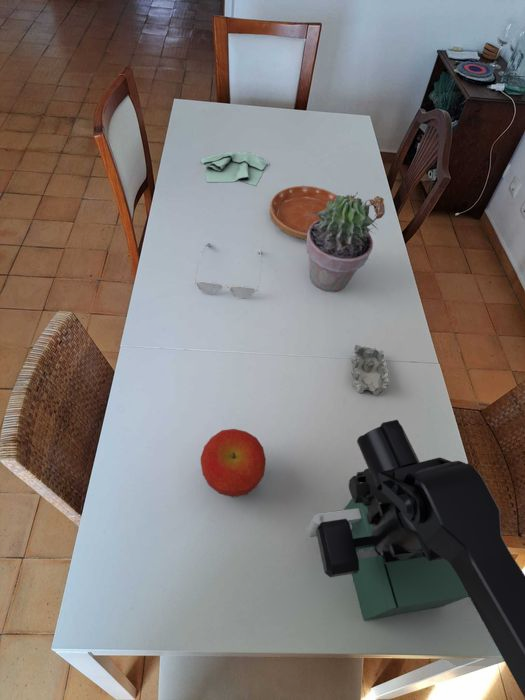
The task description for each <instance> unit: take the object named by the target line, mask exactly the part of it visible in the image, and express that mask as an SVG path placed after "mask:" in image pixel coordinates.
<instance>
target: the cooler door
mask: <svg viewBox="0 0 525 700" xmlns="http://www.w3.org/2000/svg"><path fill="white" fill-rule="evenodd" d="M367 512H368V508H367V506H364V505H363V504H362V503H354V501H353V498H352V497H351V498H350V500H349V501H348V503H347V504H346V506H345V507H344V508H343V509H342V510H336V511H334V510H333V511H328V512H320V513H316V514H314V515H313V518H312V519H311V521H310V522H309V524H308V525H307V527H306V529H305V534H306V536H308V537H309V538H315V537H317V533H316V530H317V528H318V527H319V525H320V523H321V522H327V521H333V520H340V519H347V521H348V522H349V524H350V528H351V532H352V536H353V539H355V538H361V537H368V536H372V528H373V525H372V524H368V520H367V517H366V514H367ZM369 548H370V550H371V548H373V550H374V548H375V546H374V547H367V548H361V549H356V550H357V551H358V552H359V550H361V552H362V549H364V551H365V549H367V551H368V549H369ZM358 560H359V571H358V573H354V574H351V575H352V579H353V583H354V587H355V591H356V596H357V599H358V603H359V607H360V611H361V614H362V620H363V621H364V622H365V621H366V622H367V621H370V620H373V619H372V618H375V617H377V616H379V615H381V614H384V613H386V612H388V611H390V610H393V609H395V608H396V604H395V601H394V597H393V594H392V590H391V587H390V583H389V580H388V577H387V573H386V570H385V566H384V564H383V561H382V557H381V556H376V557H370V558H364V559H358Z"/></svg>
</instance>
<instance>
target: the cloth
mask: <svg viewBox="0 0 525 700" xmlns="http://www.w3.org/2000/svg"><path fill="white" fill-rule="evenodd" d="M199 161H200V162H201V164H202V165H206V166H207V167H206V168H205V177H206V183H235V182H236V181H238V182H241V183H245V184H247V185H250V186H255V187H256V186H257V185H258V183H259V182H260V179H261V178H262V175H263V173H264V171H265V167H266V166H267V165H268V164H269V161H267V160H266V159H265V158H264V157H263V158H262V157H261V156H259V155H257V154H256V153H252V152H247V151H240V152H239V151H238V152H237V151H236V152H234V151H229V152H223V153H217V154H214V155H209V156H206V157H205V158H202V159H200V160H199Z"/></svg>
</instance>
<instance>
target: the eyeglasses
mask: <svg viewBox="0 0 525 700" xmlns="http://www.w3.org/2000/svg"><path fill="white" fill-rule="evenodd" d="M211 245H212V243H210V242H207V243H206V244H205V245H204V247H203V248H202V250H201V251H200V255H199V260H198V262H197V265H196V270H195V271H196V272H195V275H197V273H198V268H199V264H200V260H201V257H202V254H203V252H204V250H205V248H206V247H207V248H210V247H211ZM257 254H259V255H260V264H262V262H263V258H262V251H261V249H258V250H257ZM259 271H260V272H259V275H261V272H262V269H260V270H259ZM260 279H261V277H259V279H258V281H260ZM193 284H195V285H196V286H197V288H198V289H199V290H200V292H202V293H203V294H206V295H217V294H219V293H220V292H221V291H222V289H223V288H229V289H230V292H231V295H233V296H234V297H235V298H238V299H250V298H251V297H252V296H254V294H255V293H256V292H259V289H260V286H259V285H260V282H258V284H257V288H254V287H251V286H241V285H232V286H229V285H222V284H221V283H220V284H219V283H217V282H216V283H215V282H210V281H204V280H203V281H202V280H201V281H197V276H194V279H193Z"/></svg>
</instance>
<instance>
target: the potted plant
mask: <svg viewBox="0 0 525 700" xmlns="http://www.w3.org/2000/svg"><path fill="white" fill-rule="evenodd" d="M357 195H358V191H357V192H356V194H355V195H353V194H347V195H346V196H344V195H343V196H342V195H340V194H339V195H338V194H337V197H336V199H335V201H334V202H333V201H328V202H327V208H326V209H325V210H323V211H321V212H319V213H313V214H318V216H319V217H320V220H318V221H316V222H314V223H313V224H312V225H311V226H310V228H309V229H306V230H308V233H307V240H306V242H305V245H306V246H305V247H306V253H307V255H308V270H309V279H310V282H311V284H312V285H314V286H315V287H316V288H318V289H319V290H321V291H323V292H327V293H330V292H331V293H333V292H340V291H342V290H344V289H345V288H346V287H347V285H348V284H349V282H350V281H351V280H352V278H353V277H354V275H355V274H356V273H357V271H358V270H359V269H361V268H362V267H363V266H365V264H366V262H367V261H368V260H369V256H370V255H371V253H372V251H373V248H374V240H373V238H372V236H371V234H370V233H373V234H375V235H376V233H374V232H373V231H371V230H372V229H373V228H375V229H376V230H378V228H377V226H376V225H377V223H376V222H375V221H376V220H378V219H381V218H383V217H384V215H385V211H386V209H385V207H386V206H385V203H384V200H385V198H383V197H381V196H379V195H377V196H375V197H373V198H372V199H367V200H365V201H362V199H361V198H360V197H357ZM355 197H356V198H355ZM367 203H368V204H367ZM372 206H373V209H374V213H375V215H374V218H373V219H372V218H371V217H370V215H369V214H370V207H372ZM308 215H311V214H308ZM374 223H375V224H376V225H374ZM369 226H372V227H371V228H368V227H369ZM299 230H300V229H299ZM306 230H304V231H306ZM301 245H303V243H302V244H301Z"/></svg>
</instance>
